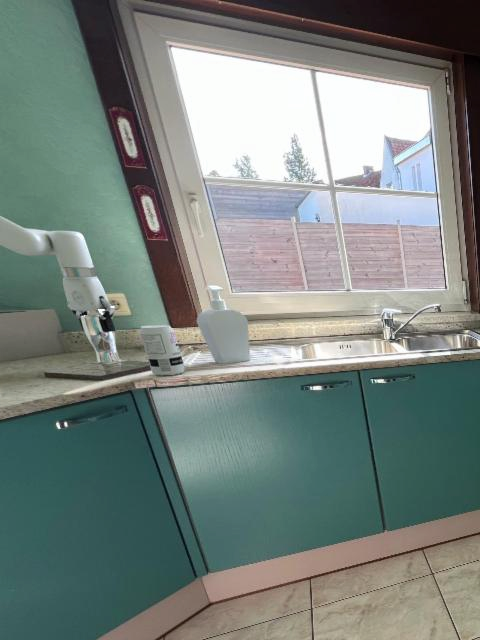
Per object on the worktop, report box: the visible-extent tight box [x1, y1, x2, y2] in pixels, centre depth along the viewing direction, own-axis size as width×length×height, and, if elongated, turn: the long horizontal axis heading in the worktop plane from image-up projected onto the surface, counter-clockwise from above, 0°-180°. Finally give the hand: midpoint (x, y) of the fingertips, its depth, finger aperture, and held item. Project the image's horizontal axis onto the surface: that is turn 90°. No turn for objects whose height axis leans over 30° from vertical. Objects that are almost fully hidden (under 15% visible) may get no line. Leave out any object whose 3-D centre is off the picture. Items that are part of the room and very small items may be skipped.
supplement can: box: [139, 324, 186, 376], centre depth 155 cm, size 8×8×15 cm
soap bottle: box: [196, 285, 251, 365], centre depth 173 cm, size 12×10×26 cm
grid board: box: [43, 359, 152, 381], centre depth 158 cm, size 20×20×2 cm
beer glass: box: [80, 313, 123, 363], centre depth 161 cm, size 7×7×15 cm
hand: (99, 330), depth 160 cm, fingers closed on beer glass, 7 cm apart
